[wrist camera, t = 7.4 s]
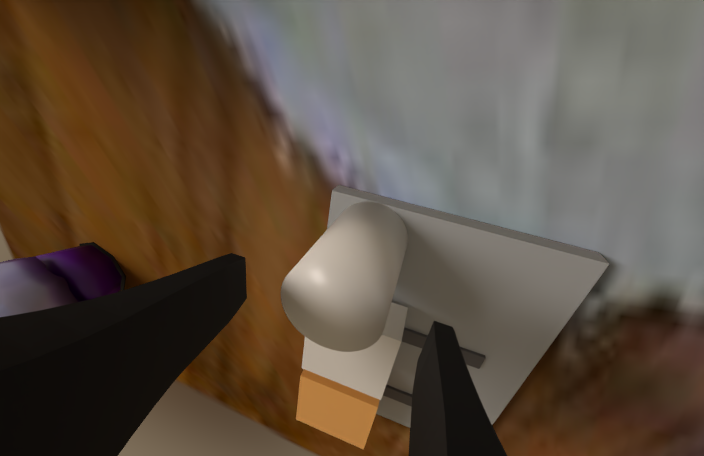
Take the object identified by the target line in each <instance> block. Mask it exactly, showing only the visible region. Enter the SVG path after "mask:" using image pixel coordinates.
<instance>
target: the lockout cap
mask: <svg viewBox="0 0 704 456" xmlns="http://www.w3.org/2000/svg"><path fill="white" fill-rule="evenodd" d="M407 244H408V233H407V229H406V226H405V224H404V222H403V220H402V219H401V218H400V216H399V215H398V214H397V213H396V212H395V211H393V210H392V209H391V208H389V207H388V206H385V205H383V204H381V203H377V202H371V201H364V202H358V203H355V204H353V205H351V206H349V207H348V208H346V209H345V210H344V211H343V212H342V213H341V215H340V216H339V217H338V218H337V219H336V220H335V221H334V222H333V224H332V225H331V226H330V227H329V228H328V229H327V230H326V232H325V233H324V234H323V235H322V236H321V237H320V238H319V240H318V241H317V242H316V243H315V244H314V245H313V246H312V247H311V249H310V250H309V251H308V252H307V253H306V254H305V255H304V257H303V258H302V259H301V260H300V261H299V262H298V263H297V265H296V266H295V267H294V268H293V269H292V270H291V271H290V273H289V274H288V275H287V276H286V278H285V279H284V281H283V284H282V287H281V301H282V305H283V309H284V311H285V313H286V315H287V317H288V318H289V320H290V321H291V323H292V324H293V325H294V326H295V328H296V329H297V330H298V331H299V332H300V333H302V334H303V335H304V336H305V337H307V338H308V339H310V340H311V341H313V342H314V343H316V344H318V345H320V346H323V347H325V348H328V349H331V350H336V351H342V352H355V351H360V350H363V349H366V348H368V347H370V346H372V345H373V344H375V343H376V342H377V341H378V340H379V338H380V337H381V335H382V333H383V331H384V328H385V324H386V321H387V317H388V313H389V310H390V306H391V302H392V299H393V295H394V292H395V288H396V284H397V281H398V277H399V274H400V270H401V266H402V263H403V259H404V255H405V252H406V248H407Z"/></svg>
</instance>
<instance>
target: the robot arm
mask: <svg viewBox="0 0 704 456" xmlns="http://www.w3.org/2000/svg"><path fill="white" fill-rule="evenodd" d="M246 298H247V294H246V264H245V257H242V256H239V255H236V254H233V253H231V254H227V255H224V256H221V257H218V258H216V259H213V260H210V261H207V262H205V263H202V264H199V265H197V266H194V267H191V268H188V269H186V270H183V271H180V272H178V273H175V274H172V275H169V276H166V277H163V278H160V279H157V280H154V281H151V282H148V283H145V284H142V285H139V286H136V287H133V288H130V289H126V290H123V291H120V292H116V293H113V294H109V295H105V296H101V297H97V298H94V299H90V300H85V301H81V302H76V303H72V304H67V305H63V306H58V307H53V308H49V309H44V310H39V311H34V312H28V313H23V314H17V315H11V316H5V317H0V456H118V455H119V453H120V452H121V450H122V449H123V448H124V446H125V445H126V443H127V442H128V441H129V439H130V438H131V436H132V435H133V434H134V432H135V431H136V430H137V428H138V427H139V426H140V424H141V423H142V422H143V420H144V419H145V418H146V416H147V415H148V414H149V412H150V411H151V410H152V408H153V407H154V405H156V403H157V402H158V401H159V400H160V398H161V397H162V396H163V394H164V393H165V392H166V391H167V389H168V388H169V387H170V386H171V384H172V383H173V382H174V381H175V380H176V378H177V377H178V376H179V375H180V374H181V373H182V372H183V370H184V369H185V368H186V367H187V366H188V365H189V364H190V363H191V362H192V361H193V360H194V359H195V358H196V357H197V356H198V355H199V353H200V352H201V351H202V350H203V349H204V348H205V347H206V346H207V345H208V344H209V343H210V342H211V341H212V340H213V339H214V338H215V337H216V335H217V334H218V333H219V332H220V331H221V330H222V329H223V328H224V327H225V326H226V325H227V324H228V323H229V321H230V320H231V319H232V318H233V316H234V315H235V314H236V312H237V311H238V310H239V308H240V307H241V305H242V304H243V303H244V301H245V300H246ZM409 456H507V455H506V453H505V451H504V449H503V447H502V445H501V443H500V441H499V439H498V437H497V435H496V433H495V431H494V428H493V426H492V424H491V422H490V420H489V418H488V416H487V413H486V411H485V409H484V407H483V405H482V402H481V400H480V398H479V395H478V393H477V390H476V388H475V386H474V383H473V381H472V378H471V376H470V373H469V371H468V368H467V365H466V363H465V360H464V357H463V355H462V352H461V349H460V346H459V343H458V340H457V337H456V333H455V330H454V329H453V327H452V326H449V325H446V324H443V323H440V322H437V321H433V324H432V326H431V329H430V331H429V334H428V336H427V339H426V341H425V343H424V346H423V348H422V351H421V353H420V356H419V358H418V361H417V367H416V373H415V379H414V385H413V392H412V408H411V425H410V443H409Z"/></svg>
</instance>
